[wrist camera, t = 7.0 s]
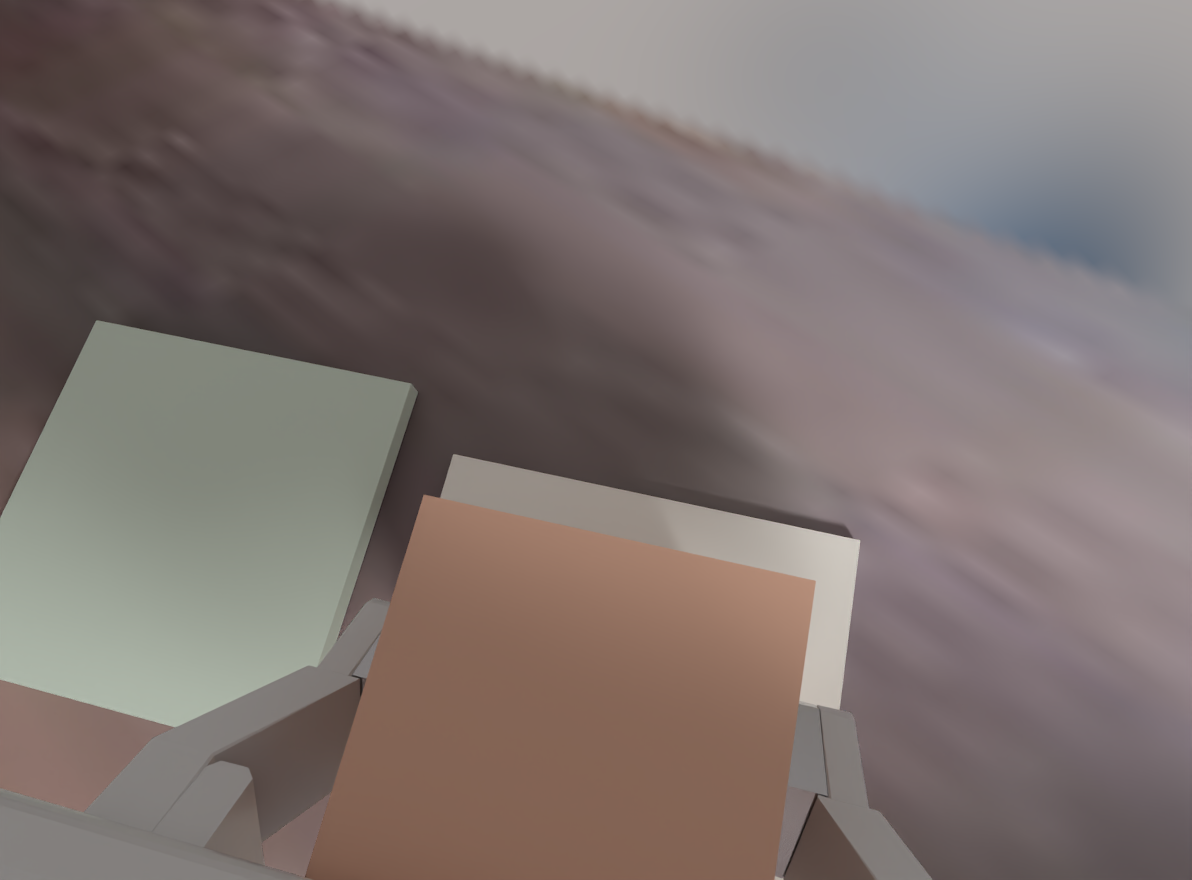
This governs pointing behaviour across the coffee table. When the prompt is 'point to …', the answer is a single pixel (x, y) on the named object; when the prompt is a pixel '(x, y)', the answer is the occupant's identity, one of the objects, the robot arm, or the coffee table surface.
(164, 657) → the coaster
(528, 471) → the tile
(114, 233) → the coffee table surface
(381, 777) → the block
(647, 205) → the coffee table surface
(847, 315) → the coffee table surface
